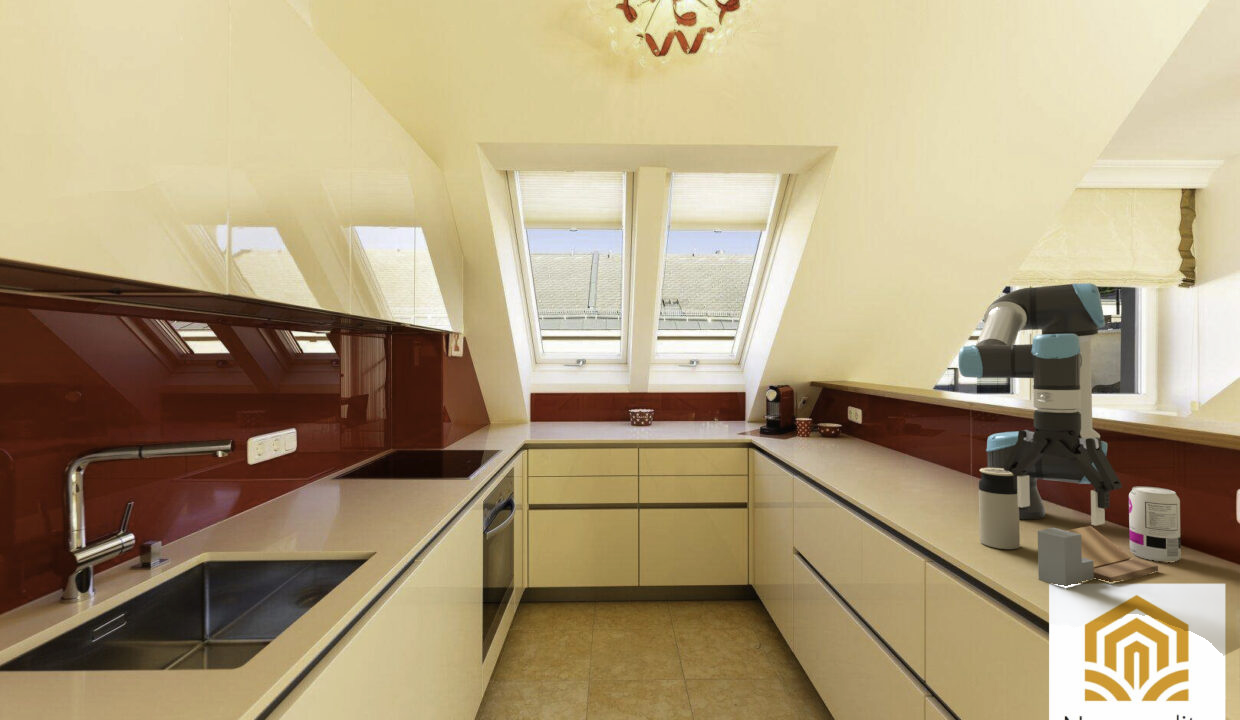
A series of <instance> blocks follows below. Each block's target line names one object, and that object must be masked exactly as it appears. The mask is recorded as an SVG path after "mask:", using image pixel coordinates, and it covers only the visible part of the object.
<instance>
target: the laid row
mask: <svg viewBox="0 0 1240 720" xmlns="http://www.w3.org/2000/svg"><path fill="white" fill-rule="evenodd" d="M1155 571H1158V572H1159V565H1158V564H1154V563H1151V562H1148V561H1143V560H1140V559H1136V558H1131V559H1130V560H1128V561H1124V562H1120V563H1116V564H1112V565H1107V566H1103V567H1099V568H1095V569H1094V578H1096V579H1101V580H1105V581H1109V582H1113V581H1121V580H1126V581H1129V579H1130V580H1133V579H1137V578H1140V576H1141V577H1145V576H1148V575H1147V574H1149V575H1151V574H1150V573H1152V572H1155ZM1152 574H1153V573H1152ZM1144 575H1145V576H1144ZM1136 577H1137V578H1136ZM1132 578H1133V579H1132Z"/></svg>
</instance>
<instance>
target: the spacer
mask: <svg viewBox="0 0 1240 720" xmlns="http://www.w3.org/2000/svg"><path fill="white" fill-rule="evenodd" d="M1037 557H1038V558H1037V563H1038V565H1037V566H1038V567H1037V568H1038V580H1039V581H1043V582H1045V583H1048V584H1051V583H1053V584H1058V585H1064V586H1068V585H1071V584H1078V583H1082V581H1086V580H1091V579H1094V564H1093V560H1090V559H1086V558H1083V557H1082V551H1081V534H1077V533H1073V532H1069V531H1066V530H1064V529H1062V528H1057V527H1049V528H1044V529H1039V530H1038V529H1037ZM1094 580H1095V579H1094ZM1053 584H1052V585H1053ZM1082 584H1083V583H1082Z"/></svg>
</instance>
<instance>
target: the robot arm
mask: <svg viewBox="0 0 1240 720" xmlns="http://www.w3.org/2000/svg"><path fill="white" fill-rule="evenodd" d="M1104 315H1105V314H1104V310H1103V304H1102V300H1101V294H1100V291H1099V288H1098V286H1097V285H1096V284H1093V283H1085V282H1084V283H1075V282H1074V283H1068V284H1057V285H1047V286H1036V287H1024V288H1019V289H1016V290H1013V291H1011V292H1008V293H1006V294H1004V295H1003V296H1001V297H999V298H997V299H996V300H994V301H993V302H992V303H991V304H990V305H989V306H988V307H987V309H986V311H985V313H984V317H983V323H984V326H983V327H982V330H981V331H980V334H979V337H978V339H977V340H976V343H975V344H971V345H966V346H965V345H964V346H962V347H960V349H959V352H958V371H959V373H960V375H961V376H962V377H964V378H975V379H1033V381H1032V382H1033V385H1032V388H1033V391H1032V393H1033V394H1032V395H1033V408H1035V410H1034V412H1033V427H1034V429H1035V430H1034V431H1032V430H1031V429H1023V430H1019V431H1005V432H998V433H993V434H991V435H989V436H988V437H987V441H986V442H987V443H986V449H985V451H986V455H987V456H986V461H987V463H986V464H987V467H986V468H1002V469H1004V470H1006V471H1009V472H1011V473H1012V474H1013V476H1014V489H1015V490H1017V496H1018V507H1019V520H1020V519H1021V520H1038V519H1039V520H1040V519H1043V518H1045V517H1046V508H1045V506H1044V503H1043V500H1042V497H1041V495H1040V493H1039V490H1038V486H1037V483H1038V482H1037V480H1045V481H1056V482H1065V483H1073V484H1077V485H1081V484H1083V485H1084V484H1086V485H1087V484H1088V485H1092V487H1093V488H1094V489H1093V490H1092V489H1091V490H1090V523H1091V525H1092V526H1100V525H1101V526H1102V525H1104V524H1106V518H1105V517H1106V515H1105V513H1106V512H1105V511H1106V510H1105V509H1108V508H1109V507H1110V504H1111V503H1110V500H1111V499H1110V492H1111V491H1115V490H1120V489H1122V488H1123V484H1122V482H1121V481H1120V478H1119V477H1118V475H1117V474H1116V472H1115V470H1114V468H1113V467H1112V464H1111V463H1110V461H1109V460H1108V457H1107V453H1108V443H1107V442H1106V441H1104V440H1101V435H1100V433H1099V432H1097V431H1096V430H1095V429H1094V428H1093V397H1092V391H1093V389H1092V357H1091V355H1092V354H1091V353H1092V351H1091V350H1092V349H1091V346H1092V345H1091V343H1092V342H1091V341H1092V340H1093V339H1094V338H1096V337H1097V335H1099V329H1101V328H1104V327H1105V326H1106V322H1105V316H1104ZM1028 330H1029V331H1030V330H1031V331H1035V330H1037V331H1038V330H1039V331H1040V330H1041V334H1037V335H1034V337H1033V338H1032V343H1030V344H1029V343H1028V344H1026V343H1025V344H1016V340H1017V338H1018V334H1019V332H1020V331H1028ZM1091 525H1090V526H1091Z"/></svg>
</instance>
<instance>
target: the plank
mask: <svg viewBox="0 0 1240 720" xmlns="http://www.w3.org/2000/svg"><path fill="white" fill-rule="evenodd" d="M1065 531H1069V532H1073V533H1077V534H1081V551H1082V557H1083V558H1086V559H1090V560H1093V564H1094V569H1095V568H1099V567H1103V566H1107V565H1112V564H1116V563H1120V562H1124V561H1128V560H1132V557H1131V556H1130V555H1129V554H1128V553H1126V552H1124V551H1123V550H1122V549H1121V548H1120V547H1118V546H1117V545H1115V543H1113V542H1112V541H1111V540H1109V539H1108V538H1107V537H1106V536H1104V535H1103V534H1102V533H1100V532H1099V531H1098V530H1097V529H1095V528H1094V527H1093V525H1092V526H1091V525H1087V526H1082V527H1078V528H1071V529H1067V530H1065Z"/></svg>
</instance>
